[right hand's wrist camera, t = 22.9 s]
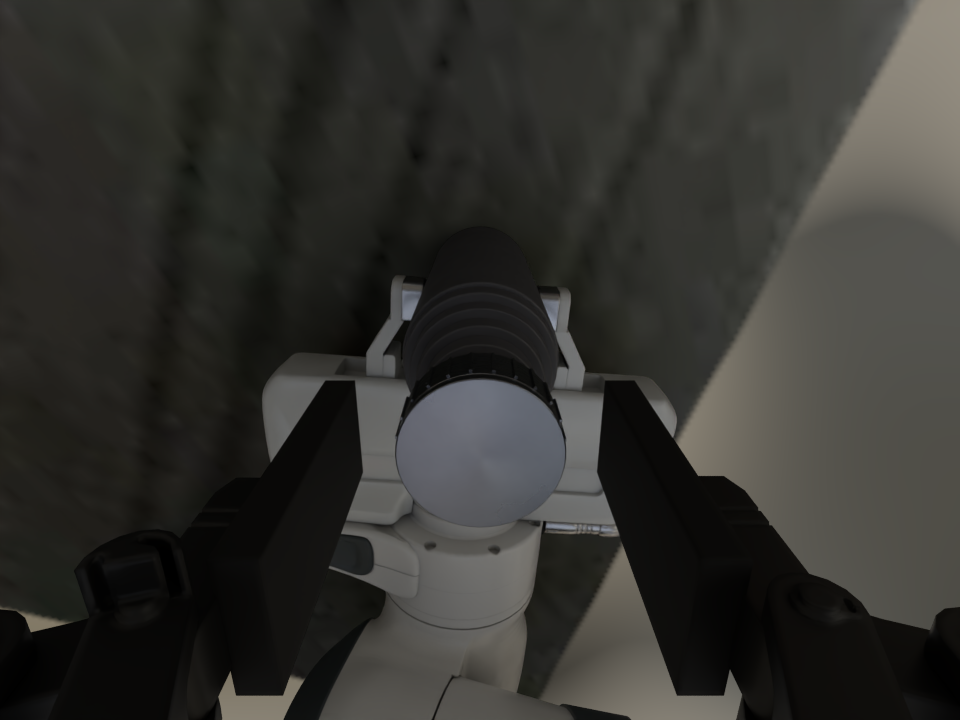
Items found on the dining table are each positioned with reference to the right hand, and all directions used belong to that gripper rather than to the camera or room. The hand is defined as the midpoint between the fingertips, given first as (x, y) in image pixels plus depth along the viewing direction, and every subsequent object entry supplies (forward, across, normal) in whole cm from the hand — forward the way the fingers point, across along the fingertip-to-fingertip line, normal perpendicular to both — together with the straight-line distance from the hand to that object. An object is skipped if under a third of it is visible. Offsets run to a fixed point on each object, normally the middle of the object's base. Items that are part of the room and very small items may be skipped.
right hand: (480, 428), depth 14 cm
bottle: (+19, 0, 0) cm, 19 cm away
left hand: (+13, 0, -1) cm, 13 cm away
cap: (-1, 0, 0) cm, 1 cm away
